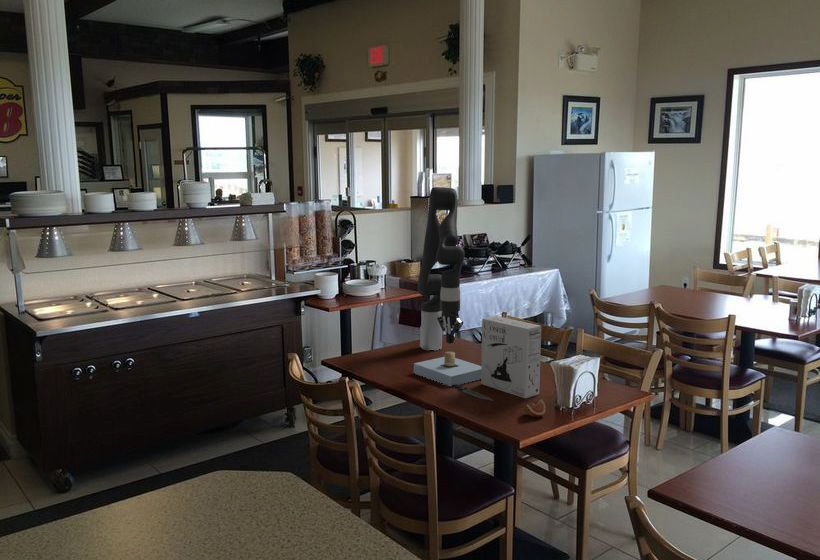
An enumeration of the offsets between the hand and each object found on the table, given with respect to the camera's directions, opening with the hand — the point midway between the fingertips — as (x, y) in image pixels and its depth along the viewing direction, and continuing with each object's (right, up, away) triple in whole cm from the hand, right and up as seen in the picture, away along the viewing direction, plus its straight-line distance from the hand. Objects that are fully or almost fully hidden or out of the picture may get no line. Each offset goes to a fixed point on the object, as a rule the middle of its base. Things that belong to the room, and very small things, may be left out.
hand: (449, 342), depth 267 cm
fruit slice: (+25, -20, -42) cm, 52 cm away
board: (0, -13, +2) cm, 13 cm away
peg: (0, -13, +2) cm, 13 cm away
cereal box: (+21, -16, -14) cm, 30 cm away
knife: (+5, -17, -18) cm, 25 cm away
